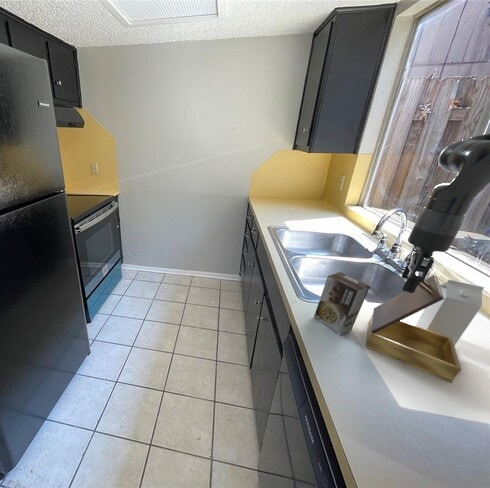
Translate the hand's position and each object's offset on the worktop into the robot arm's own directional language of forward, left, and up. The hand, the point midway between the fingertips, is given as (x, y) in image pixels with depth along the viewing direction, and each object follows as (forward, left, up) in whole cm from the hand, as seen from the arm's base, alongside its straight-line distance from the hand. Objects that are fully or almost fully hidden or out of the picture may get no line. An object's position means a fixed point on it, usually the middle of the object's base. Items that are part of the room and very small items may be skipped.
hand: (406, 284), depth 69 cm
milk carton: (-13, -14, -19) cm, 27 cm away
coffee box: (+12, +2, -19) cm, 23 cm away
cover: (-2, 0, -6) cm, 6 cm away
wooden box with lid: (-6, 0, -19) cm, 20 cm away
